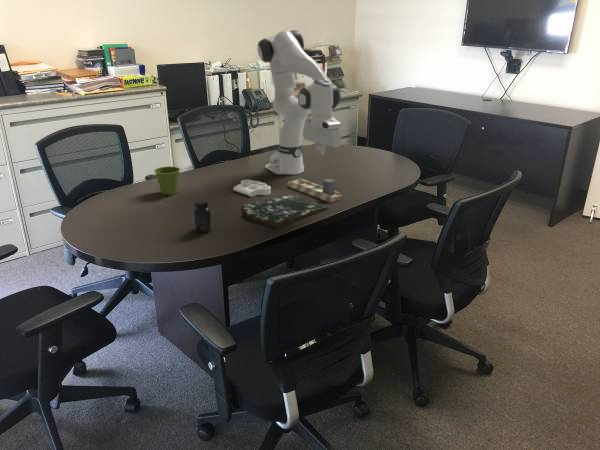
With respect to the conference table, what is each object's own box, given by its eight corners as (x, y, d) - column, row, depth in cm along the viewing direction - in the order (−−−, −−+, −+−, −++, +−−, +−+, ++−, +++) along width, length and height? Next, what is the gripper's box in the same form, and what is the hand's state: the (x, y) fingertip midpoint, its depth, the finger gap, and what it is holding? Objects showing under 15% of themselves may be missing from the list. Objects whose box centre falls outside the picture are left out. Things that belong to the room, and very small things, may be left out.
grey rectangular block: (322, 192, 233) (322, 180, 230) (328, 190, 235) (329, 178, 233) (328, 195, 230) (329, 182, 228) (334, 193, 232) (335, 180, 230)
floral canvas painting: (327, 210, 221) (327, 203, 220) (271, 231, 200) (270, 224, 199) (286, 195, 238) (286, 189, 237) (230, 213, 217) (230, 206, 215)
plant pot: (187, 190, 241) (185, 168, 237) (171, 198, 231) (169, 174, 227) (167, 187, 246) (165, 164, 241) (151, 194, 236) (148, 171, 231)
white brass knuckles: (229, 191, 243) (251, 184, 253) (254, 200, 232) (277, 192, 241) (228, 184, 242) (251, 177, 251) (254, 193, 230) (277, 185, 240)
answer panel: (287, 186, 249) (287, 180, 247) (298, 183, 253) (298, 177, 252) (330, 202, 228) (331, 196, 227) (341, 199, 232) (342, 193, 231)
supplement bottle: (195, 226, 202) (193, 198, 197) (212, 226, 202) (210, 198, 198) (193, 234, 195) (191, 204, 191) (211, 233, 196) (209, 204, 191)
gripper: (299, 117, 215) (299, 149, 221) (332, 126, 201) (331, 160, 206) (310, 116, 219) (310, 147, 225) (344, 124, 205) (342, 157, 210)
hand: (320, 153), depth 215 cm, fingers closed
